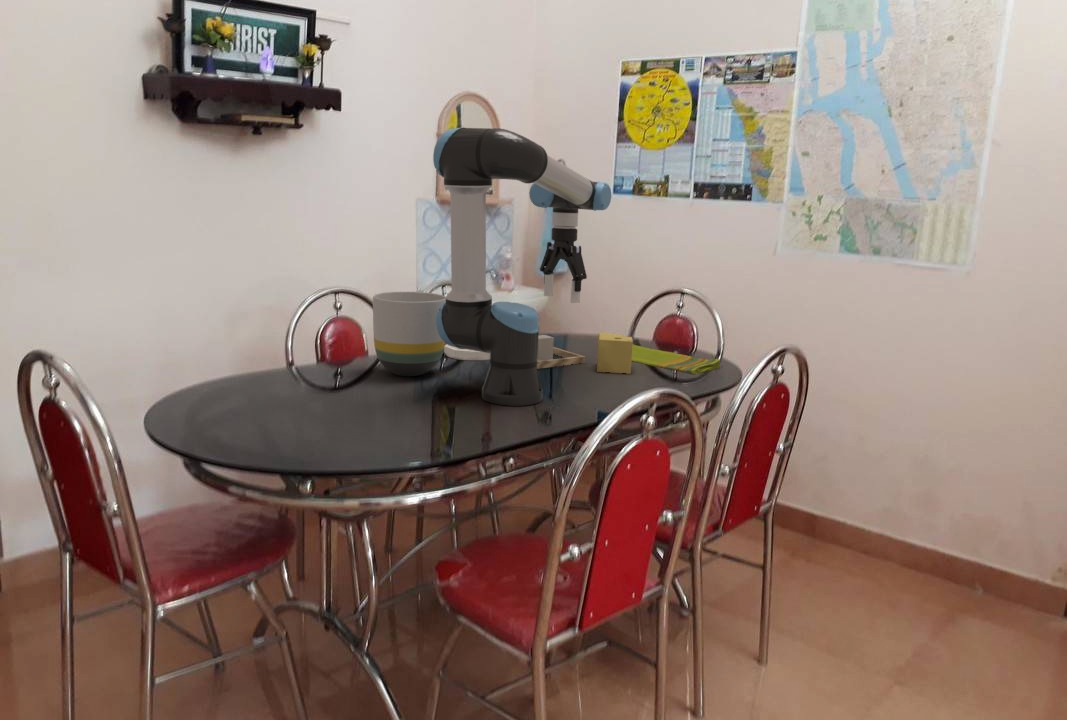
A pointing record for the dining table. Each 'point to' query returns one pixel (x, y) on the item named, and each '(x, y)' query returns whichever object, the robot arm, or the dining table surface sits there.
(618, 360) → the cheese
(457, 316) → the robot arm
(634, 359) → the dish towel
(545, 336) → the pale grey block
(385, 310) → the planter
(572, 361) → the wooden frame
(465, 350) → the bowl
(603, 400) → the dining table surface
